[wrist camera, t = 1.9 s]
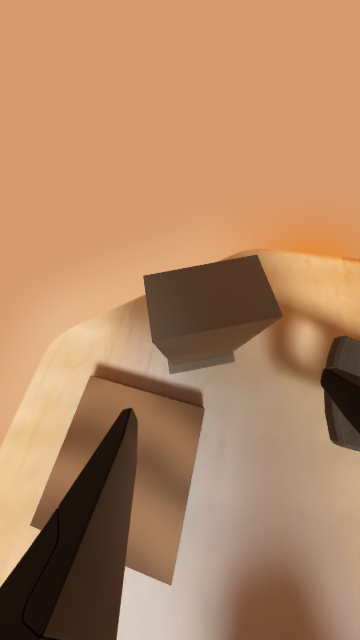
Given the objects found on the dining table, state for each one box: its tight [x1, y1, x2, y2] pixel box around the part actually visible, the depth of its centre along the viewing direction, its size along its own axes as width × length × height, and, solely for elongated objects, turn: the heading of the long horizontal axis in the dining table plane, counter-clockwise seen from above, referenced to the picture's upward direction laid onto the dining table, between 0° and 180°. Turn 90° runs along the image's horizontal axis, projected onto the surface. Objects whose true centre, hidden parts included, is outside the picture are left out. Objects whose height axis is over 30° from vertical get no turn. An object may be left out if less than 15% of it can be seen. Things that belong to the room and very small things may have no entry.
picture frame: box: [143, 255, 283, 374], centre depth 14 cm, size 5×7×12 cm
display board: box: [30, 376, 205, 585], centre depth 16 cm, size 12×12×2 cm
